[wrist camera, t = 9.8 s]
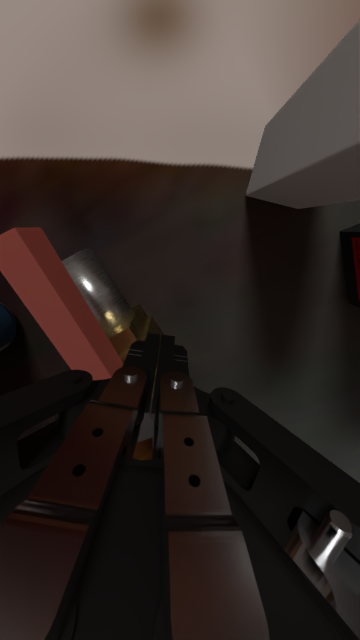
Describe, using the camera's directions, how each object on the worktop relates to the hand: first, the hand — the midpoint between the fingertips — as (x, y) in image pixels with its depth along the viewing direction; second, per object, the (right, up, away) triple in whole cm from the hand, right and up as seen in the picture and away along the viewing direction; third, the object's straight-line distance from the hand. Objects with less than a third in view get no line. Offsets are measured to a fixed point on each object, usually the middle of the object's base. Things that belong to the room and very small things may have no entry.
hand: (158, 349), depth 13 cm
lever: (-6, 0, +7) cm, 9 cm away
